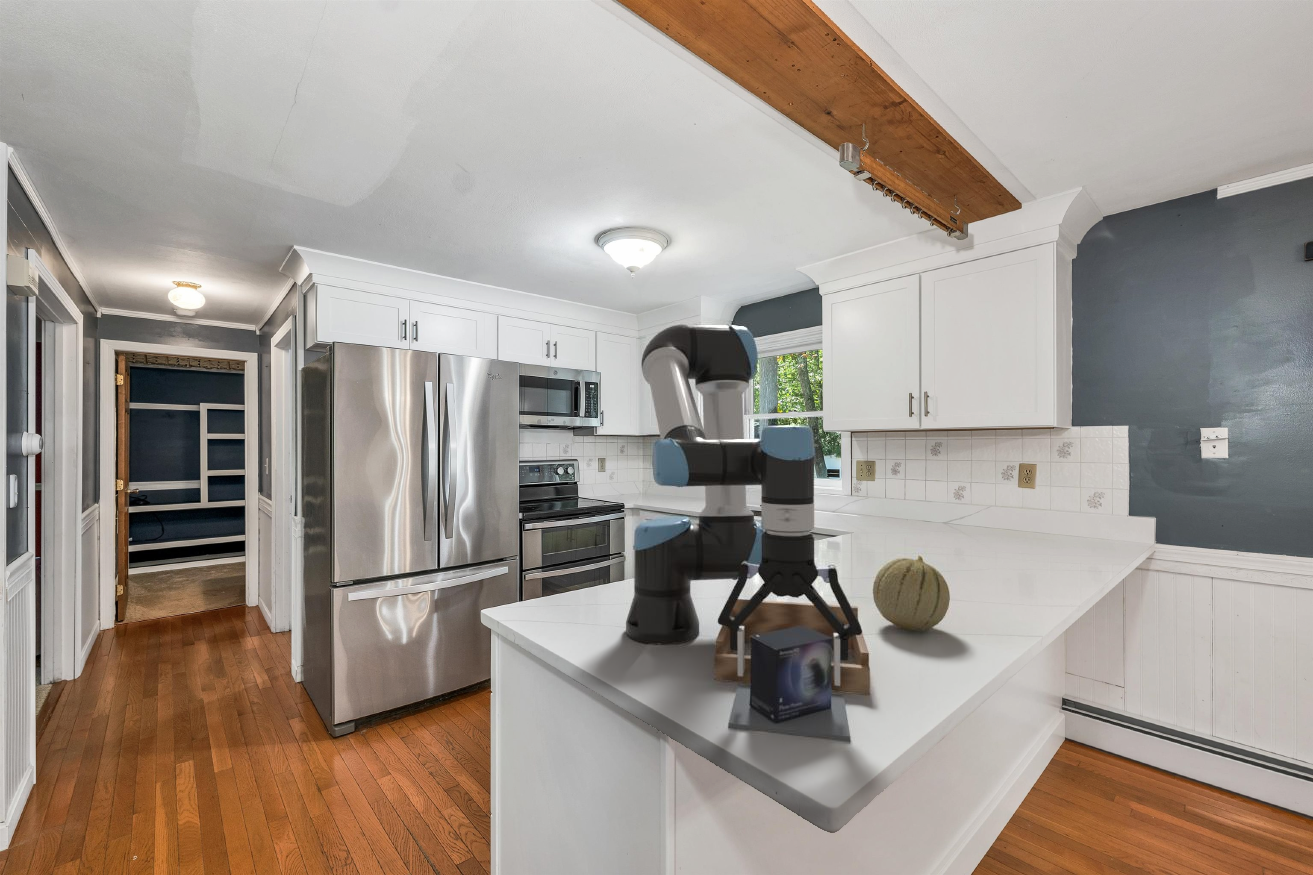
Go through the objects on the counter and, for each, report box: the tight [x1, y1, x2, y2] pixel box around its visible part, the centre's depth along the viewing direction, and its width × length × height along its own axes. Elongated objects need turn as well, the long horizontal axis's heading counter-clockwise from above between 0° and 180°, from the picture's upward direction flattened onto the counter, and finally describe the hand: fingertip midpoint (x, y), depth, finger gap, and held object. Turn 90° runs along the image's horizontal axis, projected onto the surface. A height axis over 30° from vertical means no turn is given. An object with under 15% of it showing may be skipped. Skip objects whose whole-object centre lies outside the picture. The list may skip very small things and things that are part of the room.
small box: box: [749, 626, 833, 723], centre depth 84 cm, size 11×6×10 cm, turn 118°
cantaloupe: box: [872, 555, 951, 632], centre depth 121 cm, size 15×15×15 cm
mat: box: [727, 684, 851, 742], centre depth 84 cm, size 16×13×1 cm
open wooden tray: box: [714, 598, 871, 696], centre depth 103 cm, size 24×20×8 cm
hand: (788, 677), depth 84 cm, fingers open, 13 cm apart
